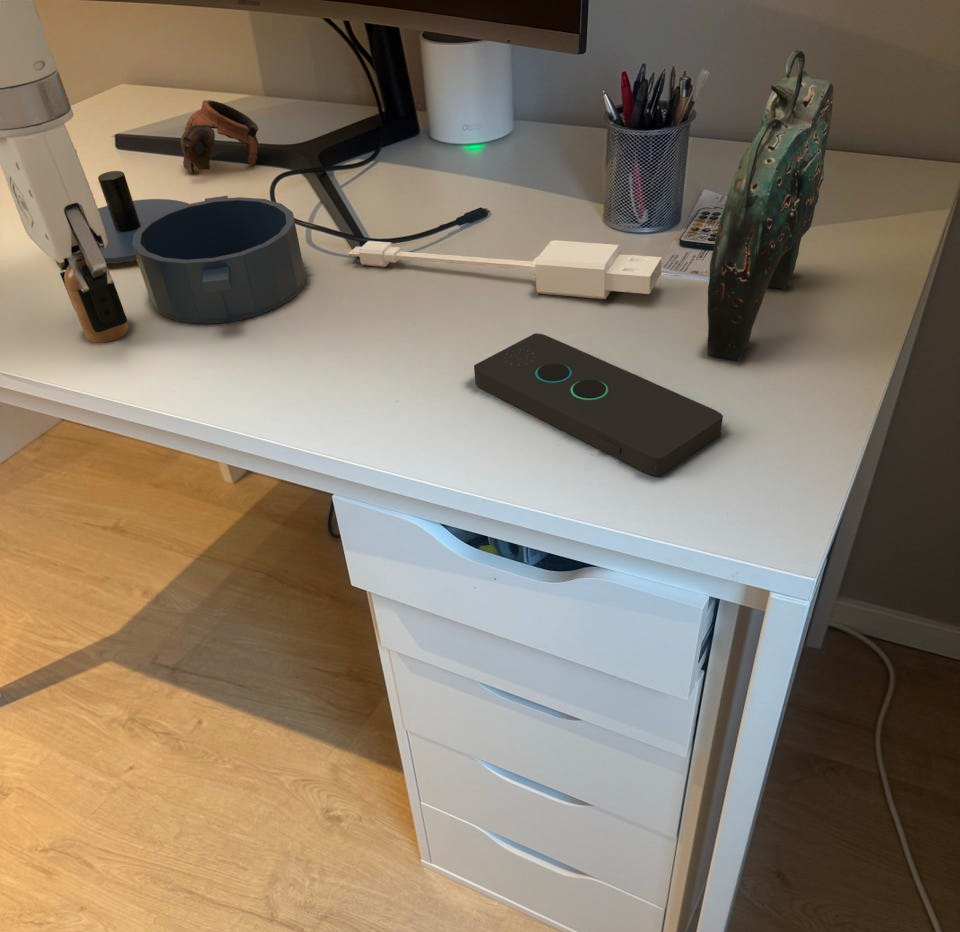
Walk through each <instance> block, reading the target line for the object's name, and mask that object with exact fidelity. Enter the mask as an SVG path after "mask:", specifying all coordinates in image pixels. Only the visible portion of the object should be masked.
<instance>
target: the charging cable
mask: <svg viewBox="0 0 960 932" xmlns="http://www.w3.org/2000/svg"><path fill="white" fill-rule="evenodd" d="M348 256H349V257H357V258H359V261H360V264H361V265H362V266H372V267H382V268H386V267H387V266H388V265H389V264H390V263H393V264H397V262H398V261H400V260H403V261H414V262H415V261H416V262H426V263H427V262H429V263H440V264H441V263H442V264H451V265H452V264H453V265H465V266H477V267H490V268H503V269H517V270H528V271H529V272H530V275H531V276H535V285H536V287H535V288H536V292H537V294H543V295H554V296H563V297H575V298H576V297H577V298H587V299H598V300H606V299H607V298H608V296H609V295H610V294H611V292H619V293H620V292H622V293H631V294H642V295H643V294H644V295H650V294H651V292H652V290H653V289H654V287H655V286H656V284H657V282H658V280H659V279H660V277H661V275H662V266H663V265H662V264H663V260H662V259H663V257H662V256H648V255H635V254H634V255H633V254H621V246H620V245H619V244H614V243H613V244H610V243H598V242H585V241H584V242H581V241H566V240H553V239H551V241H550V242H549V243H548V244H547V245H546V246H545V248H543V250H542V251H541V252H540V254H539V255H538V256H535V258H534V259H533V260H532V261H529V260H518V259H517V260H516V259H502V258H489V257H477V256H464V255H463V256H462V255H450V254H440V253H439V254H437V253H424V252H411V251H403V248H402V247H400V246H394V244H393V242H390V241H389V242H388V241H377V240H376V241H375V240H368V241H366V242H365V243H364V244H363V245H361V246H355V247H354V248H353V249H352V250H350V251H349V252H348Z"/></svg>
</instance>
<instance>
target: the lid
mask: <svg viewBox="0 0 960 932" xmlns="http://www.w3.org/2000/svg"><path fill="white" fill-rule="evenodd" d="M97 180H98V183H99V185H100V188H101V191H102V194H103V197H104V200H105V203H106V205H105V206H102V207H99V208H98V207H97V208H98V210H99V213H100V216H101V219H102V222H103V225H104V228H105V232H106V235H107V239H108V244H107V246H106V248H105V249H104V250H103V249H101V248H100V250H101V253H102V255H103V257H104V259H105V262H106V265H107V264H119V263H127V262H133V261H137V259H136V256H135V253H134V250H133V247H132V242H133V236H134V233H135V232H136V231H137V230H138V229H139V228H140V227H141V226H142V225H143V224H144V223H146V222H147V221H149V220H151V219H153V218H155V217H157V216H158V215H160V214H162V213H164V212H166V211H169V210H172V209H175V208H178V207H181V206H184V205H187V204H190V203H188V202H185V201H181V200H176V199H169V198H164V199H163V198H147V199H145V198H144V199H136V200H134V199H133V197H132V193H131V191H130V187H129V185H128V184H129V183H128V181H127V178H126V175H125V172H123V171H120V170H111V171H106V172H103V173H101V174H99V175H98V176H97Z"/></svg>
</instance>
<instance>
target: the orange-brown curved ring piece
mask: <svg viewBox="0 0 960 932" xmlns="http://www.w3.org/2000/svg"><path fill="white" fill-rule="evenodd" d="M214 129H216V130H217V134H218V135H221V136H225V137H227V138H229V139H232V140H233V139H235V140H237V141H238V142H239V143H242V144H246V145H247V151H248V152H247V163H248V164H249V165H250V166H255V165H256V161H257V159H258V153H257V147H258V145H260V144H259V140H258V137H257V133H258V131H259V126H258V124H257V123H256V122H254V121H253V119H251V117H249V116H247V115H246V114H244V113H242V112H241V111H239V110H237V109H235V108H234V107H232V106H229V105H227V104H225V103H223V102H219V101H216V100H210V99H206V100H202V103H201V108H200V109H198V110H196V111H195V112H193V113H192V114H191V115H190V116H189V117H188V119H187V122H186V124H185V127H184V129H183V130H184V131H183V134H182V135H181V137H180V138H181V139H180V149H181V151H182V153H183V161H182V163H183V167H184V169H185V170H187V171H188V173H190V174H192V175H194V174H195V168H196V169H197V170H199V171H205V170H210V169H211V155H212V154H211V153H212V152H213V147H214V145H215V141H216V139H215V137H216V133H215V130H214ZM256 154H257V156H256Z"/></svg>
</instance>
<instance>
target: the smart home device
mask: <svg viewBox="0 0 960 932" xmlns="http://www.w3.org/2000/svg"><path fill="white" fill-rule="evenodd" d="M473 371H474V383H475V385H476V386H477V387H478V388H480V389H481V390H484V391H485V392H487V393H489V394H491V395H493V396H495V397H497V398H499V399H501V400H502V401H505V402H507V403H509V404H510V405H512V406H514V407H517V408H518V409H520V410H522V411H524V412H526V413H528V414H530V415H531V416H533V417H536V418H538V419H540V420H542V421H543V422H545V423H547V424H549V425H552V426H553V427H555V428H557V429H560V430H561V431H563V432H564V433H567V434H569V435H570V436H573V437H574V438H576V439H579V440H580V441H583V442H584V443H586V444H588V445H590V446H592V447H594V448H596V449H597V450H600V451H602V452H604V453H606V454H608V455H610V456H612V457H613V458H616V459H617V460H619V461H621V462H623V463H625V464H628V465H629V466H631V467H633V468H635V469H637V470H639V471H641V472H643V473H645V474H647V475H651V476H654V477H661V476H662V475H664V474H665V473H667V472H668V471H669V470H671V469H673V468H674V467H676V466H677V465H679V464H680V463H682V462H683V461H684V460H686V459H687V458H689V457H690V456H692V455H693V454H694V453H696V452H697V451H699V450H701V449H702V448H704V447H705V446H706V445H708V444H709V443H711V442H712V441H714V440H716V439H717V438H719V436H721V434H722V433H721V431H722V426H723V420H724V419H723V418H724V415H723V414H722V413H721V412H719V411H718V410H716V409H713V408H712V407H709V406H708V405H705V404H702V403H700V402H698V401H697V400H693V399H691V398H689V397H686V396H684V395H682V394H680V393H678V392H675V391H673V390H671V389H669V388H666V387H664V386H662V385H660V384H657V383H655V382H653V381H650V380H648V379H646V378H644V377H641V376H639V375H637V374H635V373H632V372H630V371H629V370H626V369H623V368H622V367H619V366H616V365H614V364H612V363H610V362H608V361H606V360H603V359H601V358H599V357H597V356H594V355H591V354H590V353H588V352H585V351H582V350H581V349H578V348H576V347H574V346H572V345H569V344H567V343H565V342H563V341H561V340H558V339H556V338H553V337H552V336H549V335H546V334H543V333H538V332H537V333H533V334H531V335H529V336H527V337H525V338H523V339H521V340H520V341H517V342H516V343H514V344H512V345H509V346H508V347H506V348H504V349H502V350H500V351H498V352H496V353H494V354H492V355H491V356H489V357H487V358H485V359H483V360H481V361H479V362H477V363H475V364H474V365H473Z"/></svg>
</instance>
